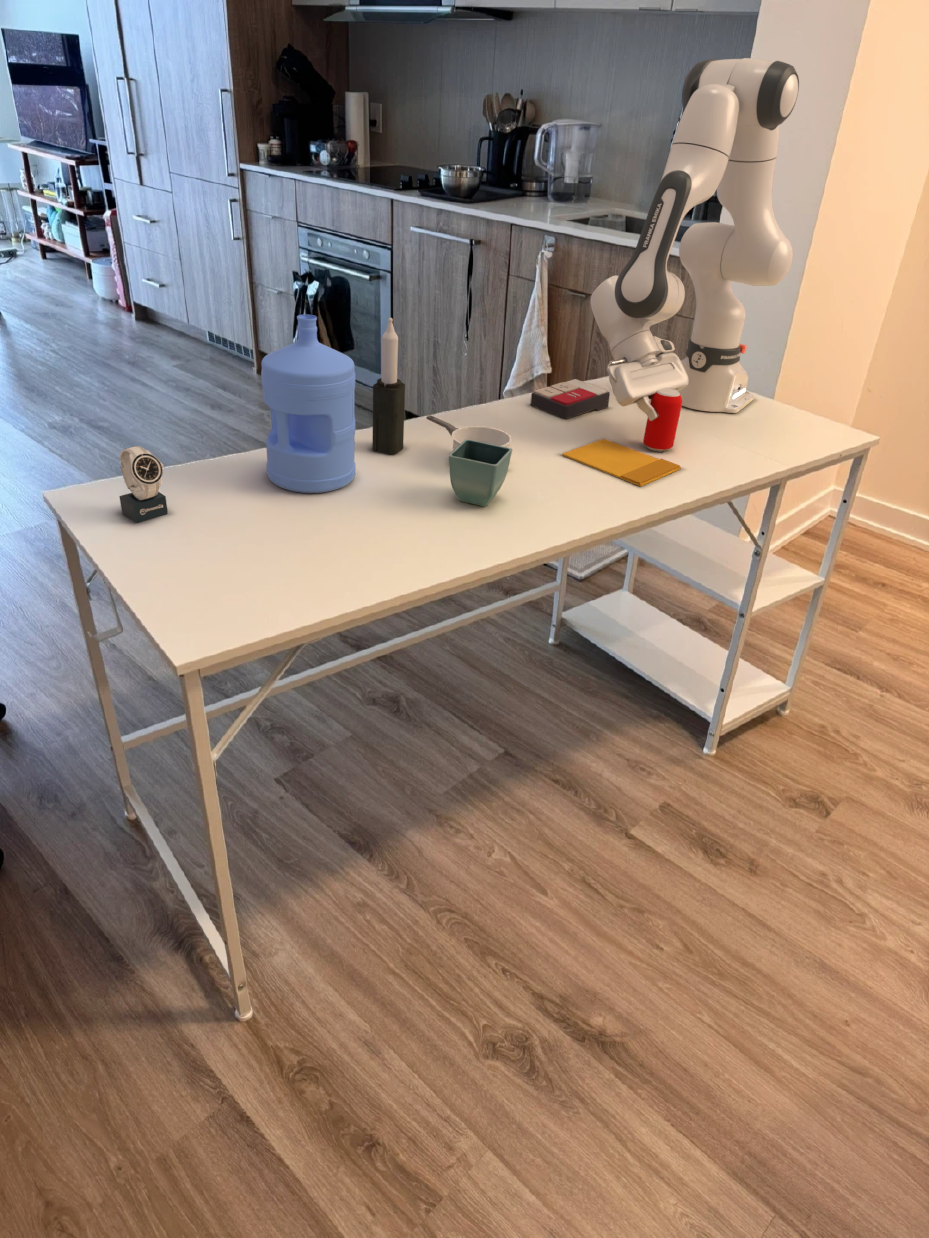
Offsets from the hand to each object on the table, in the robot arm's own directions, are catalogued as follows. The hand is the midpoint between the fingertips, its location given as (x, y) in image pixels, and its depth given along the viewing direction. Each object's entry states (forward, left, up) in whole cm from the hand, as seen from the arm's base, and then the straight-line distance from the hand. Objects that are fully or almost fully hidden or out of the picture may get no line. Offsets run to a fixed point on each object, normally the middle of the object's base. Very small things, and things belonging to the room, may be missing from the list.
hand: (666, 416), depth 175 cm
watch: (+96, -35, -7) cm, 102 cm away
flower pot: (+49, -6, -7) cm, 50 cm away
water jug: (+66, -31, -7) cm, 73 cm away
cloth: (+13, -1, -7) cm, 15 cm away
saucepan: (+37, -21, -7) cm, 43 cm away
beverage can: (0, -1, -7) cm, 7 cm away
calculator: (-5, -28, -7) cm, 29 cm away
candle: (+46, -33, -7) cm, 57 cm away
